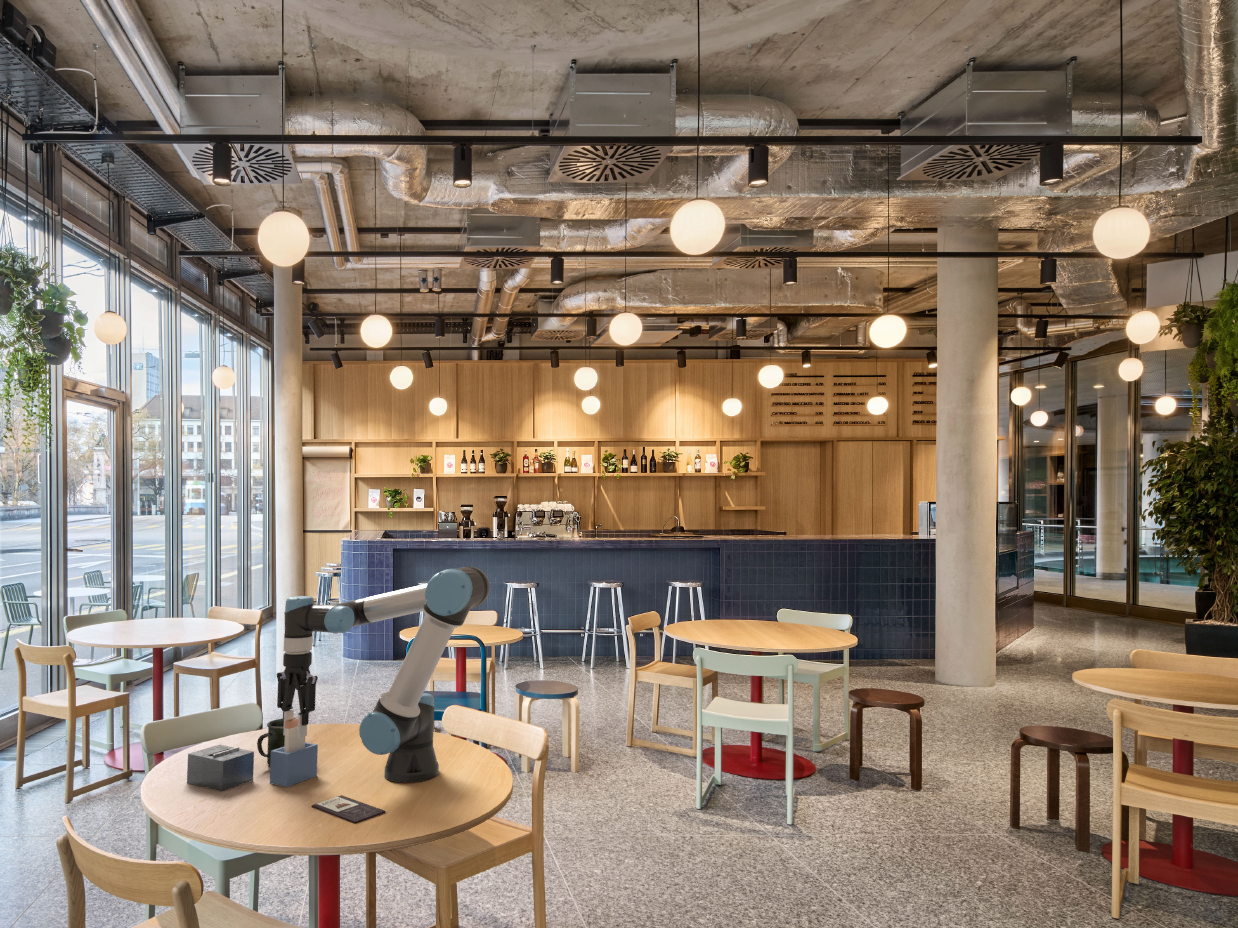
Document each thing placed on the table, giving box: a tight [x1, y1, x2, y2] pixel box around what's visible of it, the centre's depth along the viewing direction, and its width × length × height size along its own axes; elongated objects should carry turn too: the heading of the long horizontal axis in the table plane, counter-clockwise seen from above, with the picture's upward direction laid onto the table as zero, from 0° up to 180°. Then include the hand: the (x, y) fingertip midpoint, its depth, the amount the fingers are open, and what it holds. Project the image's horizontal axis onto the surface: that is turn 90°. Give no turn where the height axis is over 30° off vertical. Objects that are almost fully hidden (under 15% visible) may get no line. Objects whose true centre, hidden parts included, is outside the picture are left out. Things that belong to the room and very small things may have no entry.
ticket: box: [284, 716, 306, 753], centre depth 232 cm, size 2×6×16 cm, turn 154°
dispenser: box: [186, 744, 255, 793], centre depth 229 cm, size 14×10×9 cm
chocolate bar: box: [311, 795, 386, 825], centre depth 209 cm, size 9×1×18 cm
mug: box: [256, 717, 285, 767], centre depth 245 cm, size 11×15×12 cm
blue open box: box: [269, 741, 319, 788], centre depth 232 cm, size 7×11×9 cm, turn 154°
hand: (295, 735), depth 232 cm, fingers open, 5 cm apart
